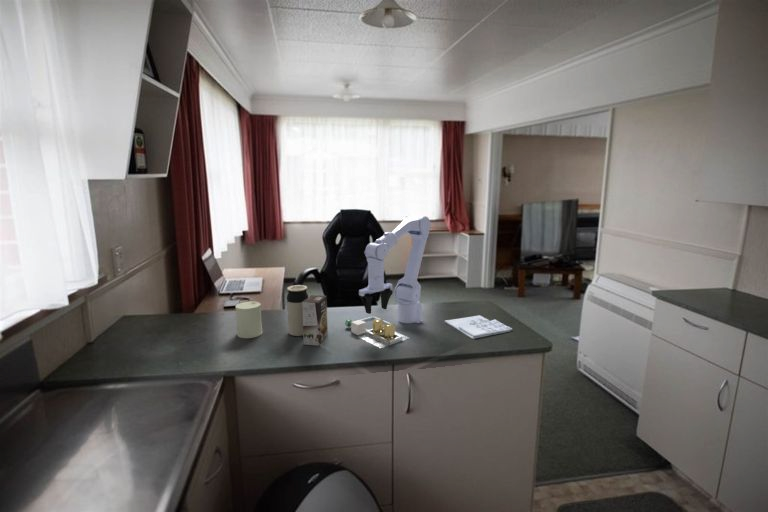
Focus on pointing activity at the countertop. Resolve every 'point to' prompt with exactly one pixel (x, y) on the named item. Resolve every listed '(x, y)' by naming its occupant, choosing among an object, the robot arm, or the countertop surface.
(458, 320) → the white printed book
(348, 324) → the knob
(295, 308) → the travel mug
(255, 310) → the can
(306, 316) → the coffee box
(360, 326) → the white block
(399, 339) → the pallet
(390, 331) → the billet
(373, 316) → the tray
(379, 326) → the cylinder
